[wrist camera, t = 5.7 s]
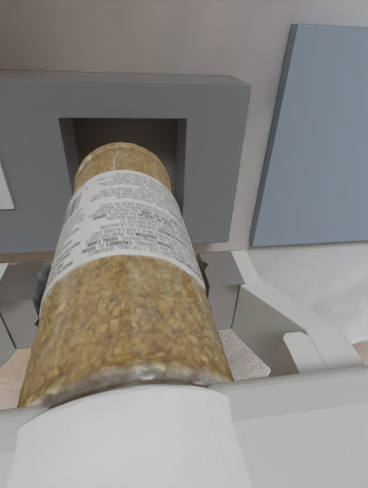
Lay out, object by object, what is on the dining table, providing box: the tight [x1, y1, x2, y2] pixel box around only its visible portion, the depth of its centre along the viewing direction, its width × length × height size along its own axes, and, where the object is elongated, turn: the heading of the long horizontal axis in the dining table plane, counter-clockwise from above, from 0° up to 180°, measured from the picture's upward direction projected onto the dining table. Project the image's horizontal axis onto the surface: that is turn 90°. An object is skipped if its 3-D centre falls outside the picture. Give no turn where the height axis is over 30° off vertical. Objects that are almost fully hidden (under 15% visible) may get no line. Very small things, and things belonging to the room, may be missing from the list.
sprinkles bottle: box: [6, 142, 252, 488], centre depth 9 cm, size 5×5×13 cm
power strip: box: [0, 70, 251, 254], centre depth 16 cm, size 9×24×4 cm, turn 88°
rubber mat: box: [249, 24, 368, 247], centre depth 21 cm, size 14×14×1 cm
